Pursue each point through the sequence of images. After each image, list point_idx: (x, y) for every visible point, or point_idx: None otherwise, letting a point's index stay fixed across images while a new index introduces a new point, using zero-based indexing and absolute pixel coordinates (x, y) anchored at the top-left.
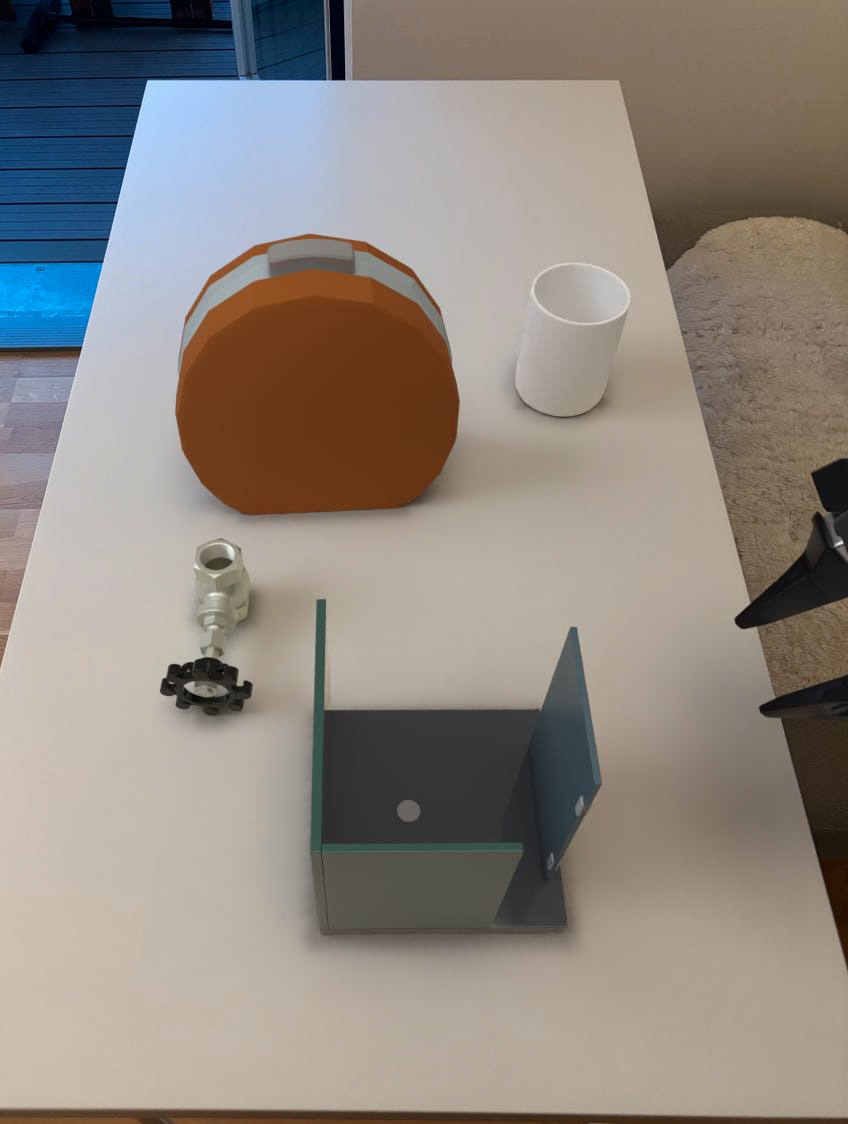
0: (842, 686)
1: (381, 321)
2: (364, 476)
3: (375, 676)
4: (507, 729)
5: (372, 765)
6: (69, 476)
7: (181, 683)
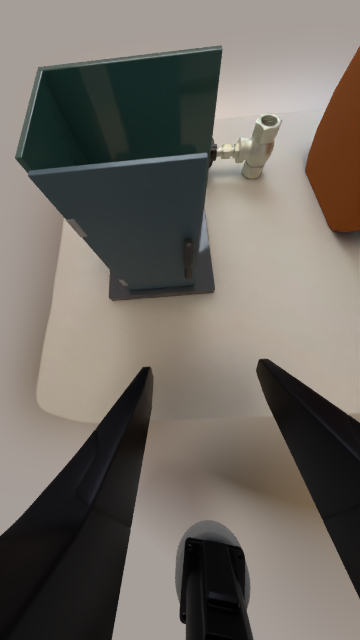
0: (69, 499)
1: None
2: (348, 188)
3: (225, 226)
4: (201, 274)
5: None
6: (307, 112)
7: None
